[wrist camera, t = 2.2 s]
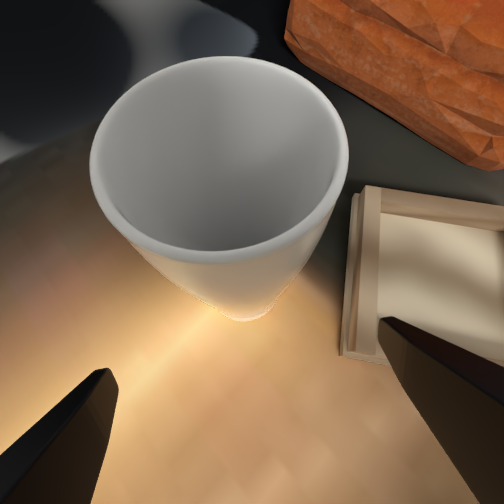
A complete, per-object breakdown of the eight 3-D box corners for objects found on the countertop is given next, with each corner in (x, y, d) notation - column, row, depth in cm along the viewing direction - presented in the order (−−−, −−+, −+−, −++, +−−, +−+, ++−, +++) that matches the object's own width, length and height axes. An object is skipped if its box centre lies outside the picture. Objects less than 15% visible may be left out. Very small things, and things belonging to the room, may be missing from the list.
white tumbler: (237, 353, 19) (185, 336, 5) (182, 281, 21) (37, 129, 7) (307, 291, 21) (412, 150, 7) (250, 230, 23) (238, 22, 9)
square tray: (540, 398, 18) (581, 403, 15) (339, 355, 19) (350, 355, 17) (511, 223, 22) (540, 208, 20) (351, 198, 24) (361, 181, 21)
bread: (489, 194, 24) (653, 77, 14) (269, 54, 31) (275, -88, 21) (565, 102, 28) (736, -42, 18) (353, -4, 35) (391, -146, 25)
